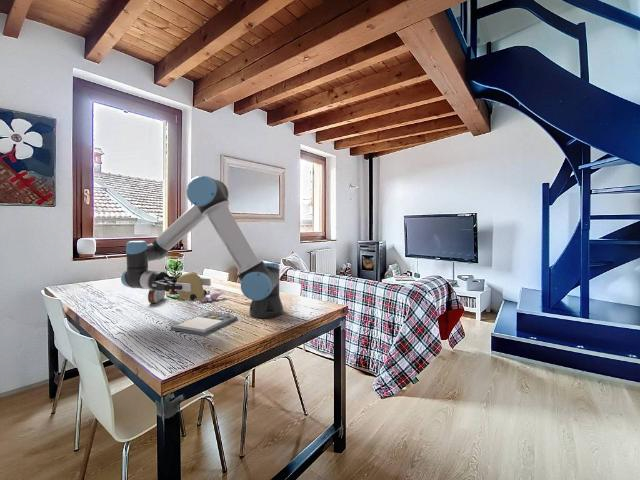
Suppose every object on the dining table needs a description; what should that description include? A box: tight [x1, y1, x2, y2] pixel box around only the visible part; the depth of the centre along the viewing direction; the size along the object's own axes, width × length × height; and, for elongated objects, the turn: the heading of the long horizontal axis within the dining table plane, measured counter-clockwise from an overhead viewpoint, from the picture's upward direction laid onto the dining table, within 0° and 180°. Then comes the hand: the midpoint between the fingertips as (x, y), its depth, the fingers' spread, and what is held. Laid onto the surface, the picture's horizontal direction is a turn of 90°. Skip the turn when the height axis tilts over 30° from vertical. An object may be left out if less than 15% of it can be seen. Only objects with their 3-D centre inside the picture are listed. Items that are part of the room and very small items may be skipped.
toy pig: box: [175, 271, 208, 303], centre depth 119 cm, size 10×12×11 cm
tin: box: [147, 289, 166, 304], centre depth 160 cm, size 15×3×8 cm, turn 4°
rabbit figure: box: [196, 290, 225, 304], centre depth 162 cm, size 6×6×15 cm
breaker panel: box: [170, 309, 238, 336], centre depth 126 cm, size 16×20×3 cm
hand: (200, 284), depth 118 cm, fingers closed on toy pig, 10 cm apart
